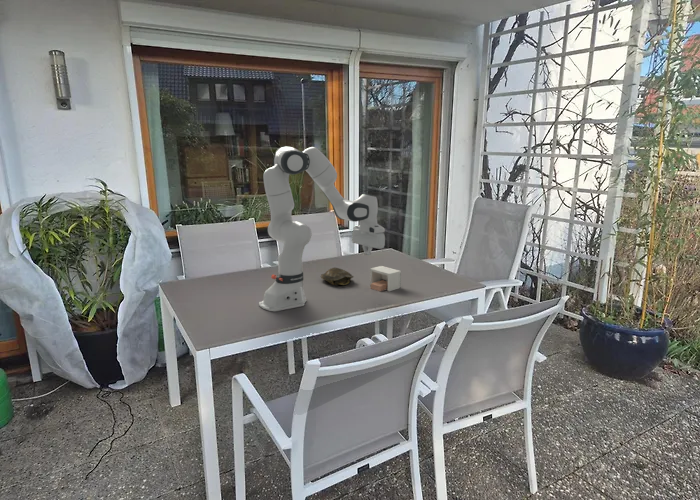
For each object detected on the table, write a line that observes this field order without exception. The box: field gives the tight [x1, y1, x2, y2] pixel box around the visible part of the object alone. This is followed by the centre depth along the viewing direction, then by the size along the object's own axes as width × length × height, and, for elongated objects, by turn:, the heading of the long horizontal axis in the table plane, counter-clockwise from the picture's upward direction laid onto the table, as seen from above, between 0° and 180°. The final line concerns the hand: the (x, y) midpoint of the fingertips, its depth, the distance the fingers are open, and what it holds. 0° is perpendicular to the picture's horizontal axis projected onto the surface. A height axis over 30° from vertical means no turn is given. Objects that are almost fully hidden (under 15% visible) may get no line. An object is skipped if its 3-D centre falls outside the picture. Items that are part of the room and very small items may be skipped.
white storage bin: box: [369, 265, 402, 292], centre depth 231 cm, size 8×14×9 cm, turn 42°
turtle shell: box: [320, 267, 355, 286], centre depth 241 cm, size 16×9×20 cm
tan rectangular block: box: [370, 280, 388, 292], centre depth 230 cm, size 9×6×3 cm
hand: (367, 254), depth 219 cm, fingers closed
